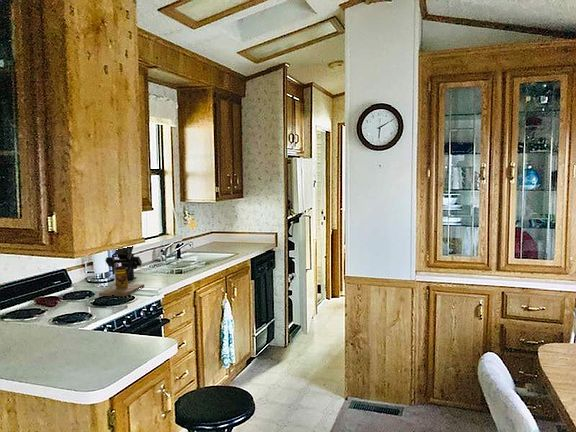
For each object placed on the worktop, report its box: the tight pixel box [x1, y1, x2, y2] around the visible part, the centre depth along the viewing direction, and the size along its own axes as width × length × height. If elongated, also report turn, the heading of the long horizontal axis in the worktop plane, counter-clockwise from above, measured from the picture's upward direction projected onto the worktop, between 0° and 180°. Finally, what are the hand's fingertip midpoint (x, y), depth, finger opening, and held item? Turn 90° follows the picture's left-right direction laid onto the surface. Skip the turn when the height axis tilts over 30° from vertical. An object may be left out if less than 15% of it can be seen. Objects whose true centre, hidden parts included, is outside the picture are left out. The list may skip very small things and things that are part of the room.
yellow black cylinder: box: [113, 265, 130, 290], centre depth 276 cm, size 7×8×12 cm
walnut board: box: [98, 283, 145, 297], centre depth 277 cm, size 20×16×2 cm
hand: (120, 274), depth 275 cm, fingers open, 7 cm apart
